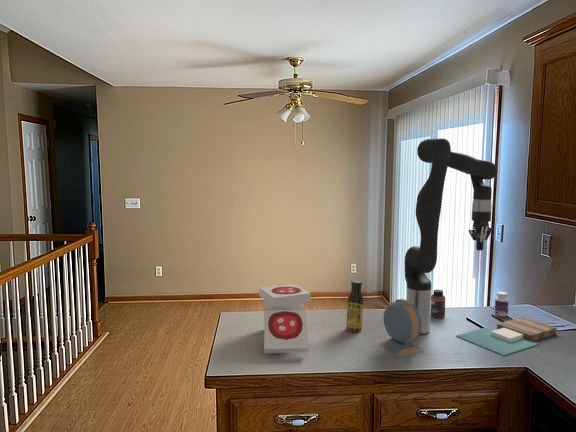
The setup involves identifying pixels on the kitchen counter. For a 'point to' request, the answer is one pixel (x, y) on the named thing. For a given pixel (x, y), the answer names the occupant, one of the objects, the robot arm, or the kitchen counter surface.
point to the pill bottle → (501, 304)
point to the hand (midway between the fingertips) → (479, 250)
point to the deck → (528, 328)
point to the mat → (495, 341)
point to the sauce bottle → (355, 308)
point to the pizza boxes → (285, 318)
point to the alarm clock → (402, 328)
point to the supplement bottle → (438, 304)
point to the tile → (507, 335)
